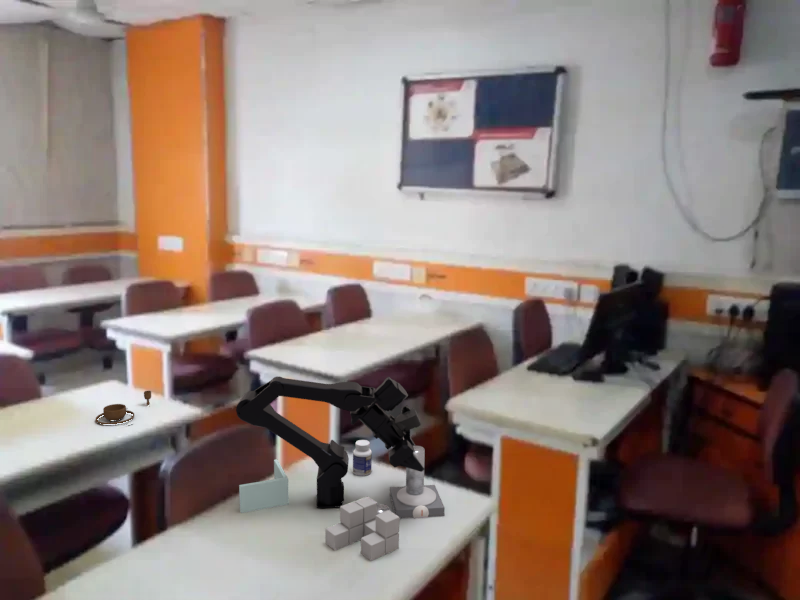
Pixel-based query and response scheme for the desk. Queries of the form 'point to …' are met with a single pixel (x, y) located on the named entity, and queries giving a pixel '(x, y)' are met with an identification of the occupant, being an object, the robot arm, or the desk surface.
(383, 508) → the short steel spacer
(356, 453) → the pill bottle
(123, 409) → the place setting
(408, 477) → the cylinder
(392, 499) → the scale
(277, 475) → the l-shaped corner panel
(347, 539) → the puzzle cube
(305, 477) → the desk surface
